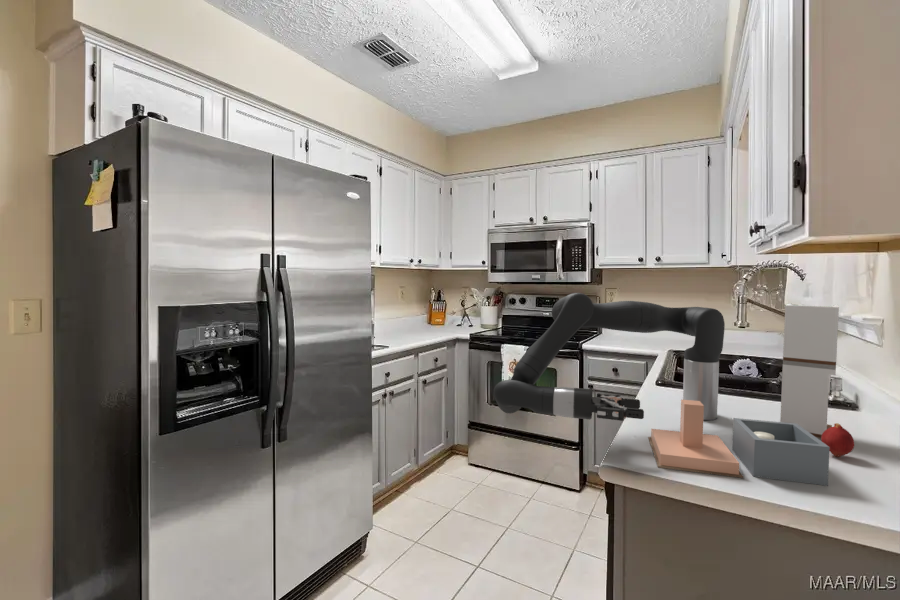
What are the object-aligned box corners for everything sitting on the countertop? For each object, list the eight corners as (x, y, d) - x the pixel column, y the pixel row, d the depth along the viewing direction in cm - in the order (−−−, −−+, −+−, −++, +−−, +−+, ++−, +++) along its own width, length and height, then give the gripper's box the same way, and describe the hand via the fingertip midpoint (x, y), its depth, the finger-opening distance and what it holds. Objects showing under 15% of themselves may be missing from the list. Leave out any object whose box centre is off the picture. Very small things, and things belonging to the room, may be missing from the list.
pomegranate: (834, 450, 107) (836, 418, 106) (860, 460, 101) (862, 426, 100) (814, 452, 106) (816, 419, 105) (839, 462, 100) (841, 428, 99)
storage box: (732, 449, 107) (733, 417, 107) (795, 456, 103) (796, 423, 102) (753, 476, 93) (754, 439, 92) (827, 485, 89) (829, 447, 88)
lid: (651, 438, 114) (652, 390, 113) (717, 445, 109) (719, 396, 108) (660, 464, 97) (661, 409, 97) (738, 474, 93) (741, 417, 92)
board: (648, 438, 114) (648, 436, 114) (719, 446, 109) (719, 444, 109) (657, 467, 97) (658, 465, 97) (743, 478, 92) (743, 476, 92)
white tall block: (832, 444, 111) (838, 307, 109) (779, 434, 118) (785, 305, 116) (831, 432, 119) (837, 305, 117) (782, 423, 126) (787, 303, 124)
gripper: (571, 395, 104) (645, 401, 99) (573, 381, 117) (639, 386, 112) (571, 426, 104) (644, 434, 99) (573, 409, 118) (638, 415, 113)
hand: (641, 408), depth 106 cm, fingers open, 8 cm apart
